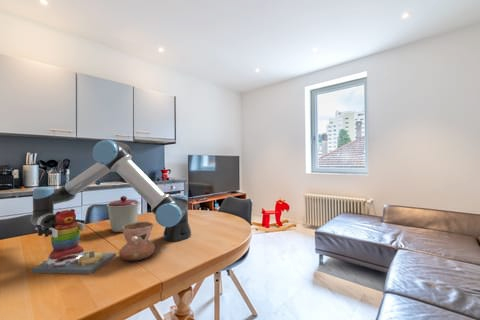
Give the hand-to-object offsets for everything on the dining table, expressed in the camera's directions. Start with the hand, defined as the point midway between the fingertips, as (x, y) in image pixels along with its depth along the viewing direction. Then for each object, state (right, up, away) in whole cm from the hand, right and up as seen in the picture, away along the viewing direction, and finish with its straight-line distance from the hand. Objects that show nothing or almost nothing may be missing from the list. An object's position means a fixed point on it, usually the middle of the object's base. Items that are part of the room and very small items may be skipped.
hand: (70, 230), depth 88 cm
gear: (-4, -13, +2) cm, 14 cm away
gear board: (+1, -15, +2) cm, 15 cm away
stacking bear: (-4, -10, +2) cm, 11 cm away
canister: (-4, -15, +48) cm, 50 cm away
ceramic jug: (+23, -15, +9) cm, 29 cm away
